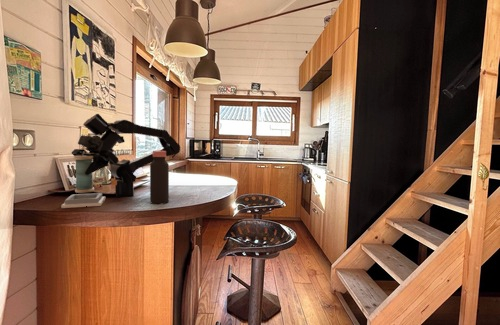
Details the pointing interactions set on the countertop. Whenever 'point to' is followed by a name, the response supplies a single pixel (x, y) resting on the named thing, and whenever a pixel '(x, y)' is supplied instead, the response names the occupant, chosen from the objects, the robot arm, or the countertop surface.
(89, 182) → the bobbin
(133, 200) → the countertop surface
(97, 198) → the grey flat square tray
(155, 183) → the bottle
